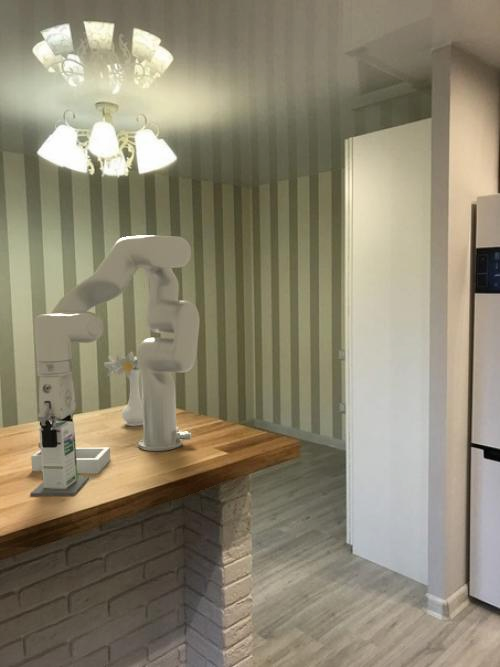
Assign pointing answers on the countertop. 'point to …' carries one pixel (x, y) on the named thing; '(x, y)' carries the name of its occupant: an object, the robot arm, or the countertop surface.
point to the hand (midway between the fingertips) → (58, 440)
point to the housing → (81, 459)
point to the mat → (68, 491)
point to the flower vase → (134, 406)
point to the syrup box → (60, 458)
